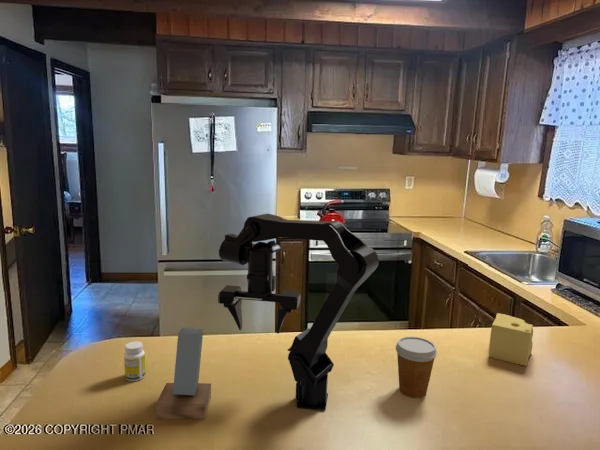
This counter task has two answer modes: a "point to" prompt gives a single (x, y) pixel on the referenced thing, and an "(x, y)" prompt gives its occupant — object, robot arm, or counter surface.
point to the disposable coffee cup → (415, 365)
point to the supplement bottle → (134, 361)
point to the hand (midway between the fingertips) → (259, 331)
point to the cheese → (510, 339)
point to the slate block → (188, 361)
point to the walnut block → (183, 403)
